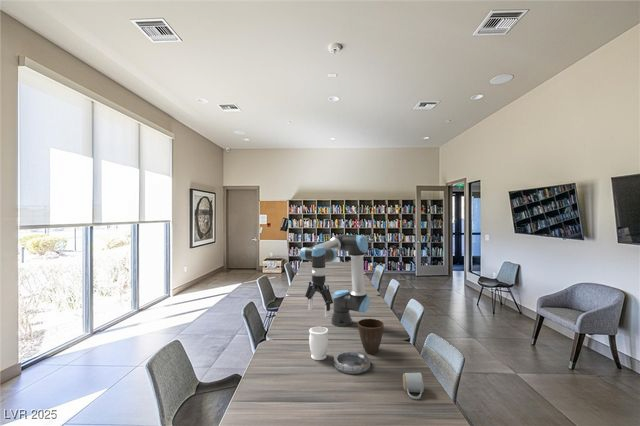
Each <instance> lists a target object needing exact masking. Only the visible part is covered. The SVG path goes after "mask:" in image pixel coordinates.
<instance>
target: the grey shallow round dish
mask: <svg viewBox="0 0 640 426" xmlns="http://www.w3.org/2000/svg"><path fill="white" fill-rule="evenodd" d="M333 367H334V369H335V368H336V369H335V370H336V371H338V372H339V373H342V374H345V375H361V374H365V373H366V372H368V371H369V370H370V368H371V362H370V357H368V355H367V354H365V353H362V352H361V351H354V350H347V351H346V350H345V351H340V352H339V353H336V354H335V356H334V357H333Z"/></svg>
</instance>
